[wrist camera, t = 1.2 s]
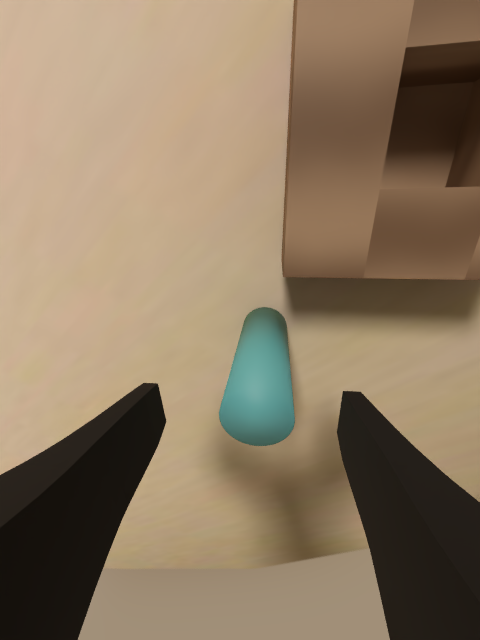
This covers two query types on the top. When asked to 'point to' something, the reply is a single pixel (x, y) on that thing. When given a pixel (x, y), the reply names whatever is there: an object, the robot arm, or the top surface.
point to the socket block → (383, 140)
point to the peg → (260, 382)
